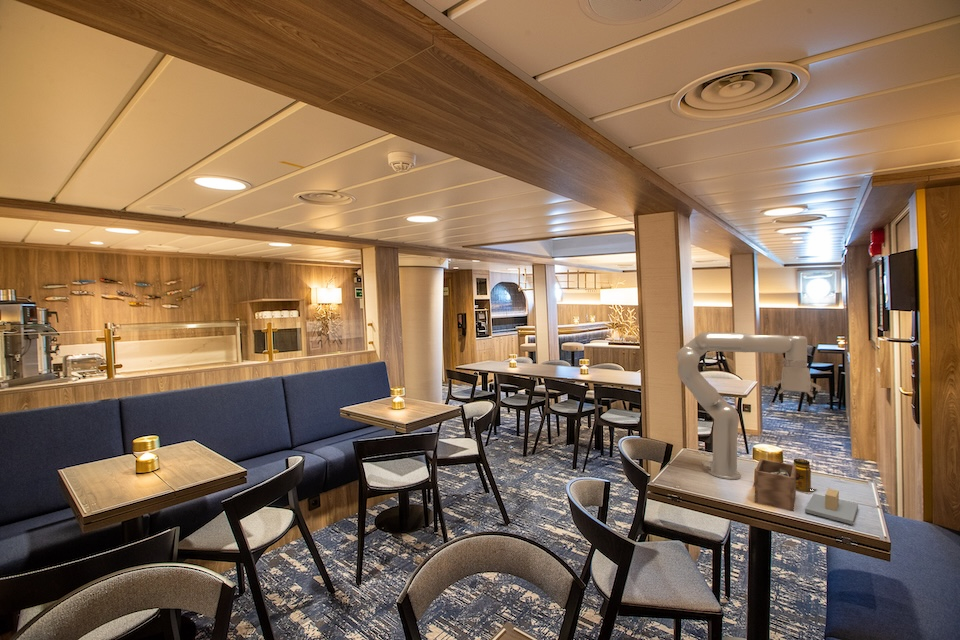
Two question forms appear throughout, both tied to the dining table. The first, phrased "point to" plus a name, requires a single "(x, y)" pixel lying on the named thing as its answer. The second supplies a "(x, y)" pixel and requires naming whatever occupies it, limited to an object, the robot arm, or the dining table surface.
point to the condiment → (803, 476)
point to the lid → (832, 507)
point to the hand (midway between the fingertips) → (795, 404)
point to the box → (775, 485)
